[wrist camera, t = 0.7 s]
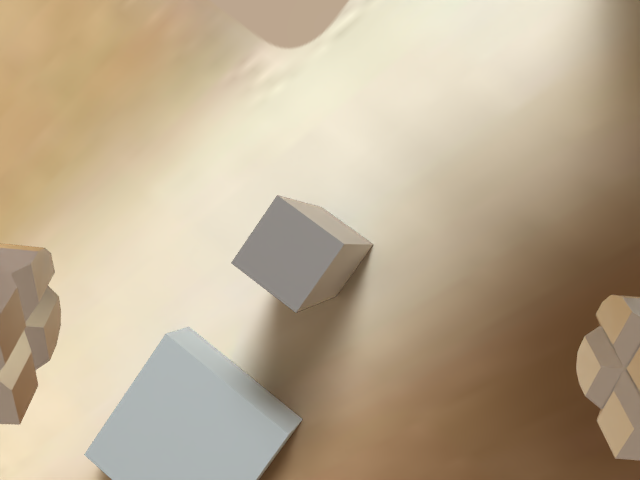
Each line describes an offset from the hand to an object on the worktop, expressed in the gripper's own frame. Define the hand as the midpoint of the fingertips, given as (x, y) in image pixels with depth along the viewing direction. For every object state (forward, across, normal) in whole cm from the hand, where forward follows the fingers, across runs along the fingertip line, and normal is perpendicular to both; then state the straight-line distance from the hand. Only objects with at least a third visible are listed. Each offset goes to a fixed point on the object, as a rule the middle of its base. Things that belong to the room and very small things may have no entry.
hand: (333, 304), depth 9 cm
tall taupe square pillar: (+32, -4, +22) cm, 39 cm away
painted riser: (+25, +5, +36) cm, 45 cm away
